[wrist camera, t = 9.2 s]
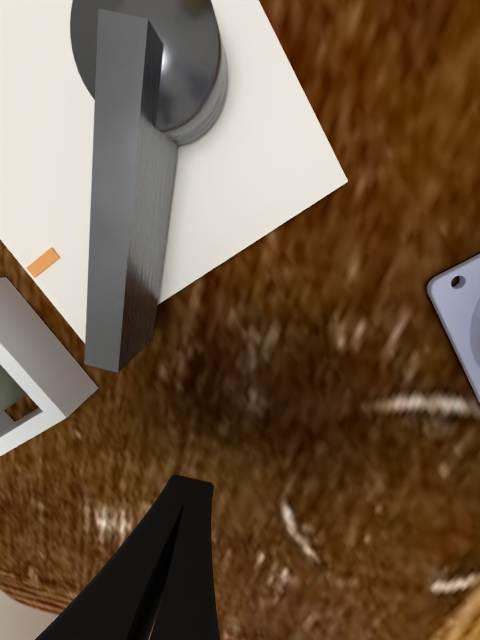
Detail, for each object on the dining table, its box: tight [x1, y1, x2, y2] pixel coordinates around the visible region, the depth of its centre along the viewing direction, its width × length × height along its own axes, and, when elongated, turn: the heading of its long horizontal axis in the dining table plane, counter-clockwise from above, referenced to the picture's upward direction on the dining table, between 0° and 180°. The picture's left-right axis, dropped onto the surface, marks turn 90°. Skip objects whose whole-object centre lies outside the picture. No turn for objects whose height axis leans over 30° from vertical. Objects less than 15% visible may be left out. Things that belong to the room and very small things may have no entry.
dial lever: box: [70, 0, 228, 373], centre depth 9 cm, size 12×4×3 cm, turn 168°
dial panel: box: [0, 0, 348, 343], centre depth 11 cm, size 13×12×1 cm
